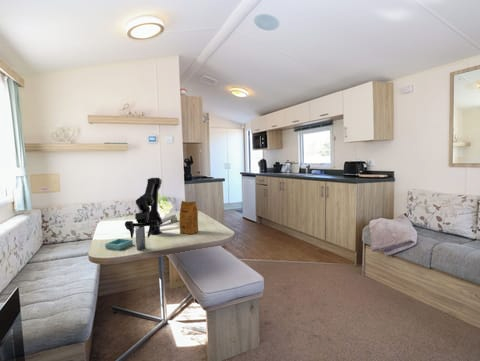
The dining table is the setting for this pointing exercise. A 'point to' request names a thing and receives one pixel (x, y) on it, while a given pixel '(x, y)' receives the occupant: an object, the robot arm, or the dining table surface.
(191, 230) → the coffee package
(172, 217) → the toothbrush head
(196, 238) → the dining table surface
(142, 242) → the block
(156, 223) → the robot arm
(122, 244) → the tray
